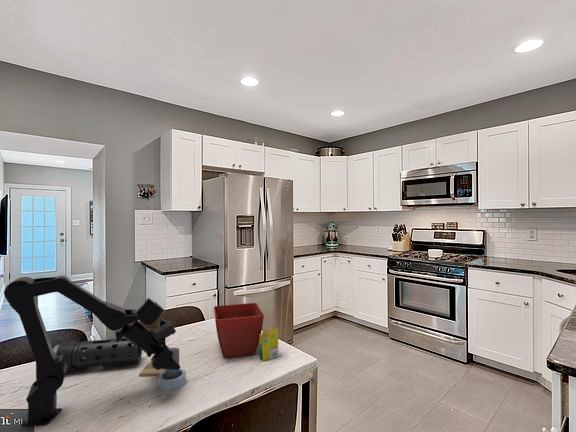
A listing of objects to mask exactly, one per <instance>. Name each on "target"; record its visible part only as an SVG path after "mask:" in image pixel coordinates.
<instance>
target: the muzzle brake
mask: <svg viewBox="0 0 576 432" xmlns="http://www.w3.org/2000/svg"><path fill="white" fill-rule="evenodd" d="M52 349H53V352H54V353H55V354H56V355H57V356H60V355H62V354H64V361H65V363H66V364H67V365H68V367H67V371H72V370H73V371H74V372H79V371H78V370H80V371H85V370H86V369H87V368H95V367H96V368H97V367H102V368H105V367H117V366H127V365H128V366H129V365H135V364H136V365H137V364H139V363H140V362H141V359H142V355H143V351H142V350H141V349H140V350H138V349H137V347H136V346H135V345H134V344H133V343H131V342H130V341H128V340H127V339H126V338H124V337H122V338H121V339H120V340H119V341H118V342H116V338H107V339H97V340H84V341H81V342H79V341H74V340H73V341H65V342H62V343H61V344H56V345H55V346H54V347H53V348H52Z"/></svg>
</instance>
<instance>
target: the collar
mask: <svg viewBox="0 0 576 432" xmlns="http://www.w3.org/2000/svg"><path fill="white" fill-rule="evenodd" d="M186 373H187V371H186V370H185V369H183V368H180V369H179V377H178V378H175V379H168V380H166V379H165V371H164V372H162V373H160V375H159V376H157V386H158V389H160V390H162V391H166V392H167V391H174V390H177V389H180V388H182V387H183V386H184V385H185V384H186V382H187V379H186V378H187V374H186Z"/></svg>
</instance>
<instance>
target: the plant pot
mask: <svg viewBox="0 0 576 432" xmlns="http://www.w3.org/2000/svg"><path fill="white" fill-rule="evenodd" d="M213 313H214V319H215V320H214V321H215V322H214V323H215V327H216V329H215V330H216V333H217V339H218V343H219V347H220V351H221V354H222V357H223V358H224V359H228V358H235V357H236V358H237V357H242V356H243V357H244V356H252V355H255V354H256V353H257V351H258V350H257V349H258V347H259V334H262V330H263V325H264V318H265V314H264V313H263V311H262V310H261V308H260V307H259V305H258V303H257V302H248V303H237V304H236V303H235V304H226V305H225V304H224V305H223V304H222V305H214V306H213Z"/></svg>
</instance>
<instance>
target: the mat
mask: <svg viewBox="0 0 576 432" xmlns="http://www.w3.org/2000/svg"><path fill="white" fill-rule="evenodd" d="M164 371H165V369H159V370H156V369H155V368H153V366H152V364H151V361H149V362H148V363H147V364H146V365H145V366H144V368H143V369H142V370H141V372H140V373H139V374H138V377H158V376H159V375H160V373H162V372H164Z"/></svg>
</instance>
